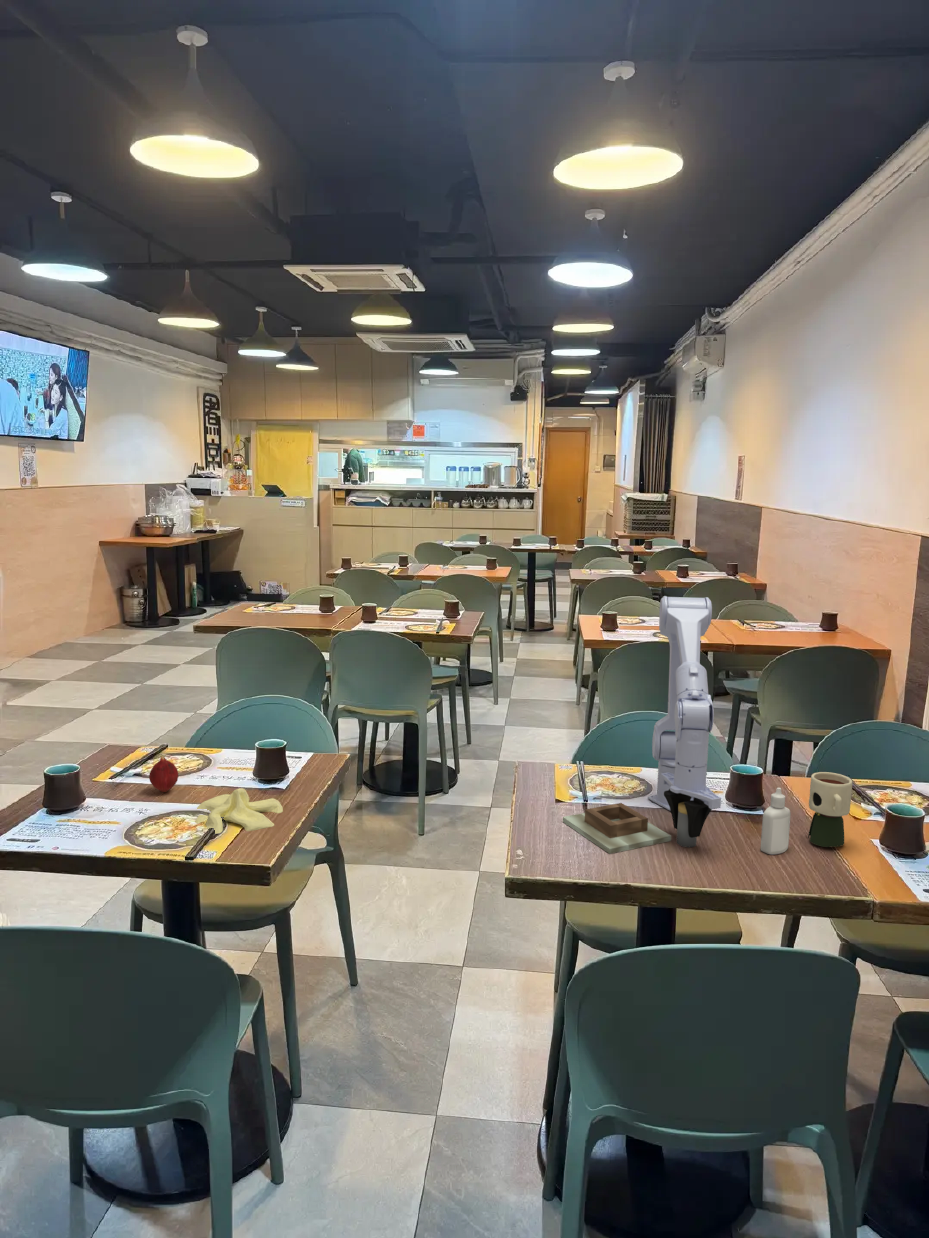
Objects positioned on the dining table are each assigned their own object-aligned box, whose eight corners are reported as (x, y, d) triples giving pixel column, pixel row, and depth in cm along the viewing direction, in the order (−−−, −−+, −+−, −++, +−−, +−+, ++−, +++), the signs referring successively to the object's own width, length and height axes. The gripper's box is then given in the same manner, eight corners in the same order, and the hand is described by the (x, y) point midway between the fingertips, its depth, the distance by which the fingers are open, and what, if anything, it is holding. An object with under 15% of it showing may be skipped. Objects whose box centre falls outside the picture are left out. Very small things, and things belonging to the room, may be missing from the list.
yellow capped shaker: (687, 837, 160) (689, 800, 158) (700, 845, 156) (703, 807, 155) (672, 840, 158) (674, 803, 157) (685, 848, 155) (687, 810, 153)
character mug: (798, 830, 163) (803, 767, 161) (836, 833, 162) (842, 769, 160) (813, 855, 153) (819, 787, 151) (854, 857, 152) (861, 789, 150)
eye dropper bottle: (794, 854, 153) (799, 792, 151) (764, 855, 152) (768, 792, 150) (783, 844, 157) (788, 783, 155) (754, 845, 157) (759, 784, 155)
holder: (620, 810, 172) (621, 794, 172) (670, 840, 158) (671, 823, 157) (562, 821, 166) (563, 804, 166) (609, 853, 152) (610, 835, 152)
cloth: (206, 798, 178) (204, 770, 177) (293, 799, 178) (292, 771, 177) (167, 842, 156) (166, 811, 155) (267, 844, 156) (266, 813, 155)
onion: (184, 790, 180) (183, 755, 179) (162, 799, 175) (160, 762, 174) (167, 785, 183) (165, 750, 182) (144, 793, 178) (142, 757, 177)
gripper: (648, 753, 159) (645, 821, 162) (700, 778, 146) (696, 851, 149) (678, 749, 162) (674, 815, 165) (731, 772, 149) (726, 844, 152)
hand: (686, 831), depth 157 cm, fingers closed on yellow capped shaker, 4 cm apart
